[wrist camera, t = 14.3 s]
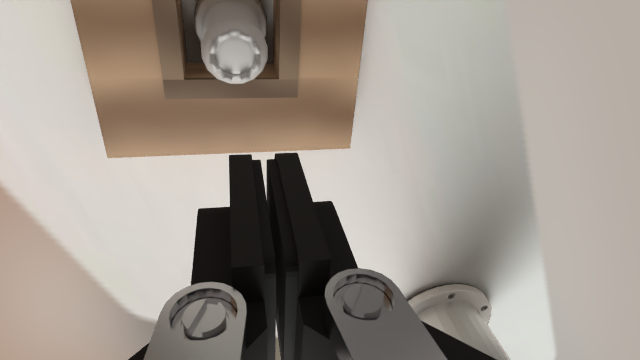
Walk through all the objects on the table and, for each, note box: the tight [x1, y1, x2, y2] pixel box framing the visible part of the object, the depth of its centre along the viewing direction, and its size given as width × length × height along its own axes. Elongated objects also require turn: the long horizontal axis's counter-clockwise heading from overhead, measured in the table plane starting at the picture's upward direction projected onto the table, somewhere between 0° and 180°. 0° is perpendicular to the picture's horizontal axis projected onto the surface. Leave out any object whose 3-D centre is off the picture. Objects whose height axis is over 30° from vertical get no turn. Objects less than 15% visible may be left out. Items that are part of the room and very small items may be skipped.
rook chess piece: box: [194, 0, 268, 84], centre depth 23 cm, size 4×4×8 cm
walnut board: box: [71, 0, 368, 158], centre depth 25 cm, size 16×16×3 cm
